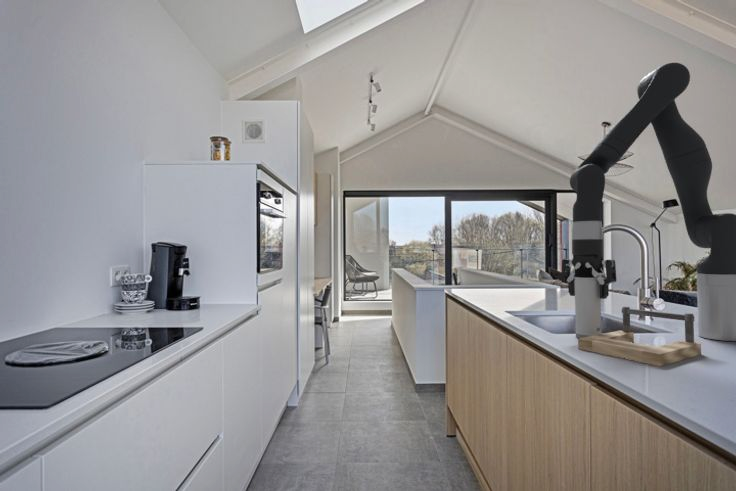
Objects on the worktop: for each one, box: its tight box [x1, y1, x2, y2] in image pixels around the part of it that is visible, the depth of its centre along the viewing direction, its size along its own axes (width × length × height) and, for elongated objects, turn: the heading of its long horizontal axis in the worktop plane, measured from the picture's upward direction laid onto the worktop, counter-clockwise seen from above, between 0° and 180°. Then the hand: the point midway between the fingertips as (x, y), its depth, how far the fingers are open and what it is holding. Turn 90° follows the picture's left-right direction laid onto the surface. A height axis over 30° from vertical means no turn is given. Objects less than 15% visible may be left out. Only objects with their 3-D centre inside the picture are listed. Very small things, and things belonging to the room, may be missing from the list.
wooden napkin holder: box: [577, 306, 702, 367], centre depth 96 cm, size 18×18×9 cm
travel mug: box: [574, 267, 602, 338], centre depth 112 cm, size 6×7×20 cm
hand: (587, 297), depth 112 cm, fingers open, 8 cm apart
